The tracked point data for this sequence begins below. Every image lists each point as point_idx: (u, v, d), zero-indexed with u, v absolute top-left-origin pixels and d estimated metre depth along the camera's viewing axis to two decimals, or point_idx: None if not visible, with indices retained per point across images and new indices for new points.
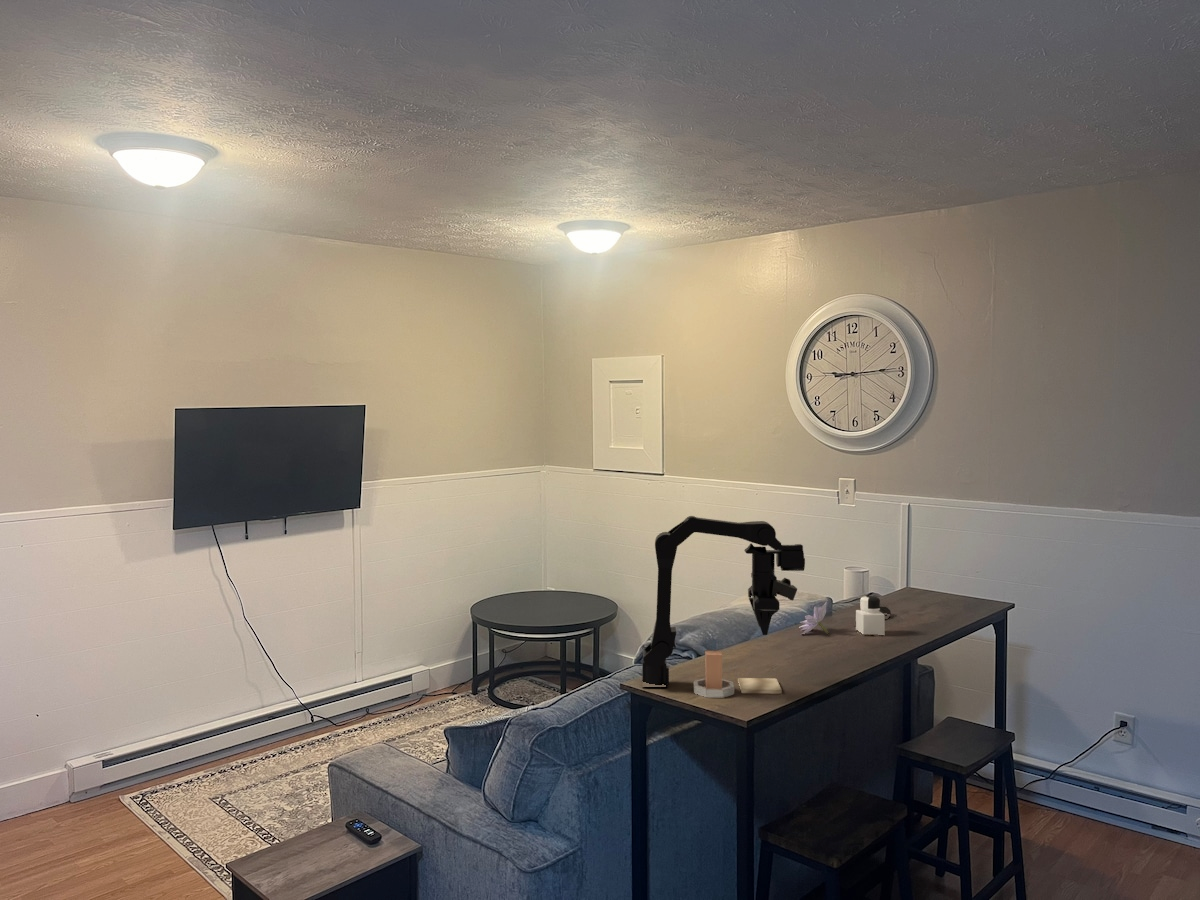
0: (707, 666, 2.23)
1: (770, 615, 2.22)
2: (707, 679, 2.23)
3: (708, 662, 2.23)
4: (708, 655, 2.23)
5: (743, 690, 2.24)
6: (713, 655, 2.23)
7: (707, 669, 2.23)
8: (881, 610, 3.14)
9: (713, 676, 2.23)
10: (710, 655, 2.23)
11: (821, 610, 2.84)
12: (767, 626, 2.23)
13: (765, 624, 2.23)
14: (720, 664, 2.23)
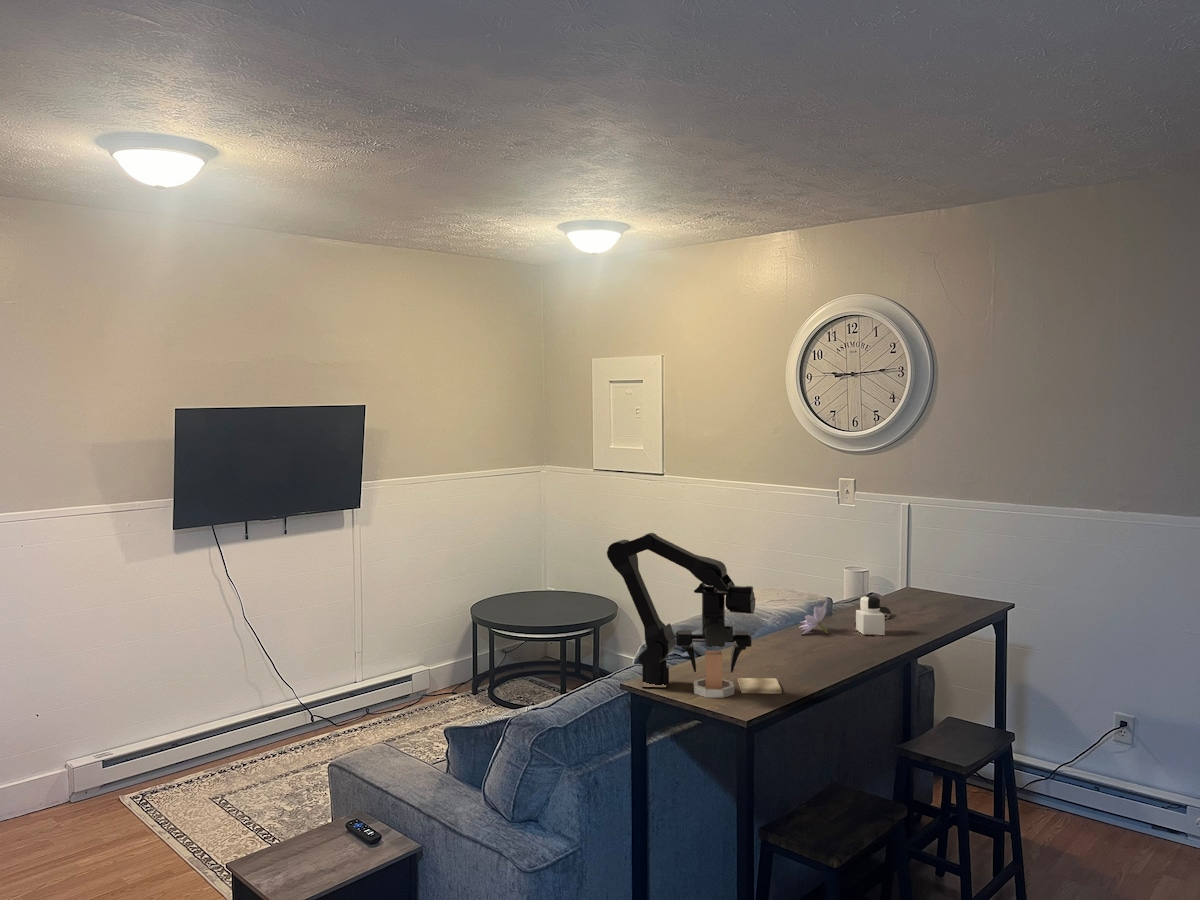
0: (707, 666, 2.23)
1: None
2: (707, 679, 2.23)
3: (708, 662, 2.23)
4: (708, 655, 2.23)
5: (743, 690, 2.24)
6: (713, 655, 2.23)
7: (707, 669, 2.23)
8: (881, 610, 3.14)
9: (713, 676, 2.23)
10: (710, 655, 2.23)
11: (821, 610, 2.84)
12: None
13: None
14: (720, 664, 2.23)
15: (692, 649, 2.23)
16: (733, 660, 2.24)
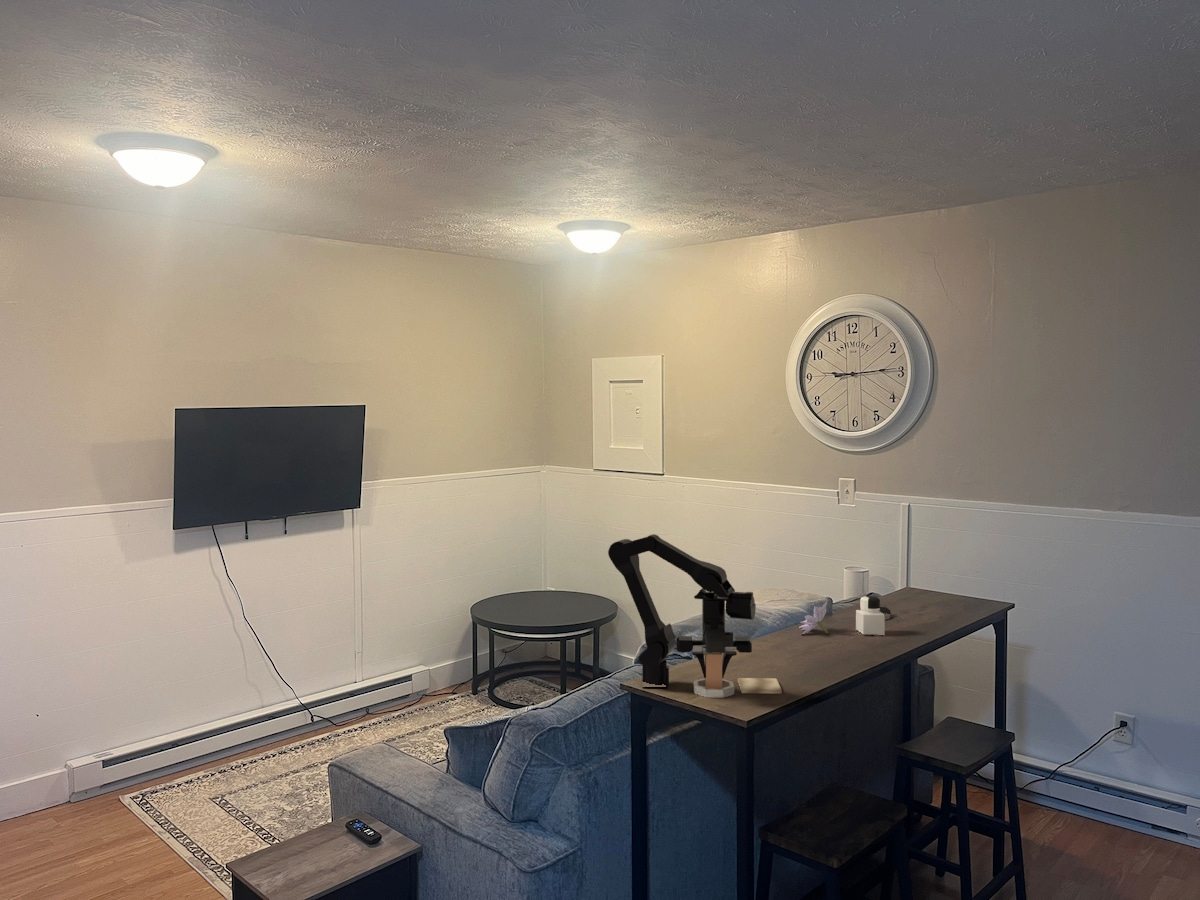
0: (707, 666, 2.23)
1: None
2: (707, 679, 2.23)
3: (708, 662, 2.23)
4: (708, 655, 2.23)
5: (743, 690, 2.24)
6: (713, 655, 2.23)
7: (707, 669, 2.23)
8: (881, 610, 3.14)
9: (713, 676, 2.23)
10: (710, 655, 2.23)
11: (821, 610, 2.84)
12: None
13: None
14: (720, 664, 2.23)
15: (702, 655, 2.23)
16: (724, 666, 2.24)
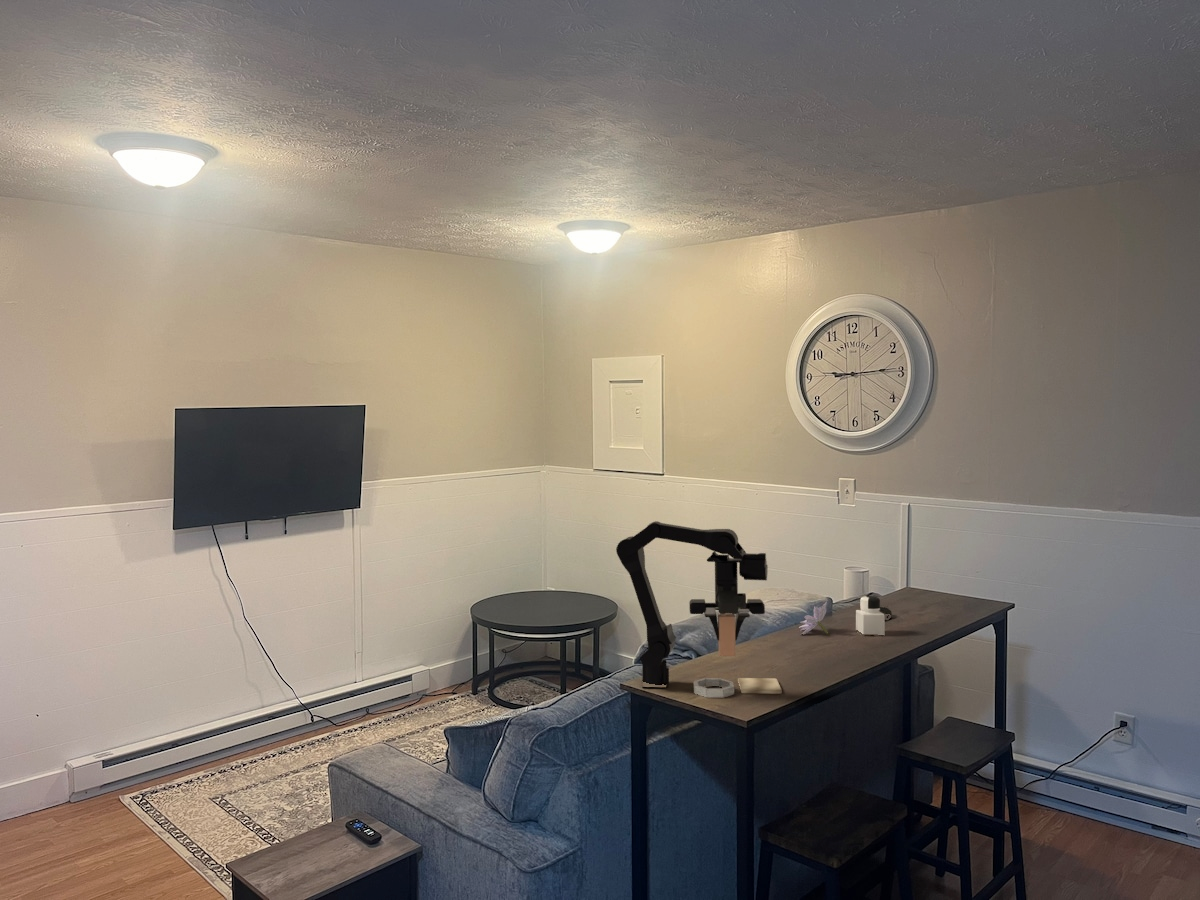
0: (720, 628, 2.24)
1: None
2: (720, 641, 2.24)
3: (721, 624, 2.24)
4: (721, 617, 2.24)
5: (743, 690, 2.24)
6: (726, 617, 2.24)
7: (720, 631, 2.24)
8: (882, 611, 3.13)
9: (726, 638, 2.24)
10: (723, 617, 2.24)
11: (821, 610, 2.84)
12: None
13: None
14: (733, 626, 2.23)
15: (715, 617, 2.23)
16: (737, 628, 2.24)
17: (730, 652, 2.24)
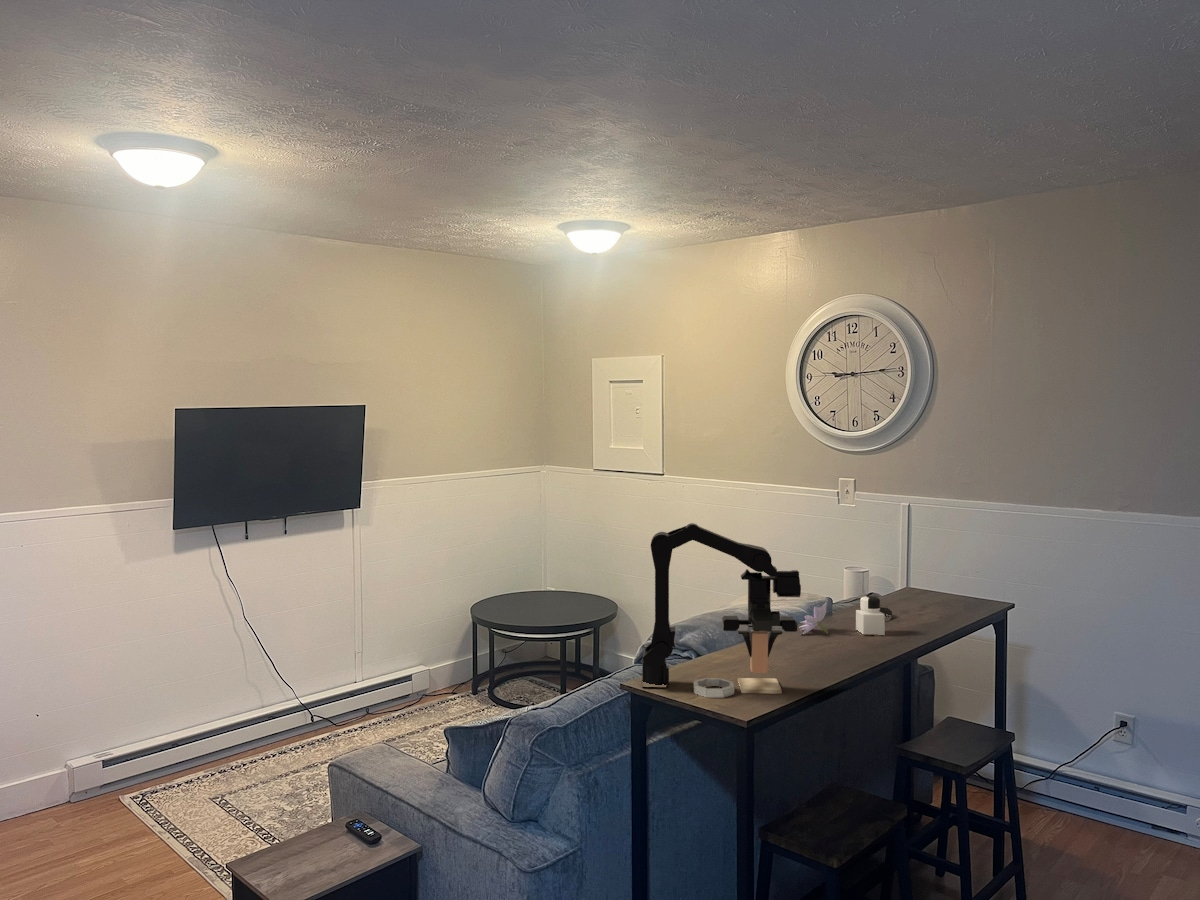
0: (753, 645, 2.26)
1: None
2: (753, 658, 2.26)
3: (754, 641, 2.26)
4: (754, 634, 2.26)
5: (743, 690, 2.24)
6: (759, 634, 2.26)
7: (753, 648, 2.26)
8: (882, 611, 3.13)
9: (759, 655, 2.26)
10: (756, 634, 2.26)
11: (821, 610, 2.84)
12: (747, 648, 2.28)
13: (746, 645, 2.28)
14: (766, 643, 2.26)
15: (748, 634, 2.26)
16: (769, 645, 2.27)
17: (762, 668, 2.26)
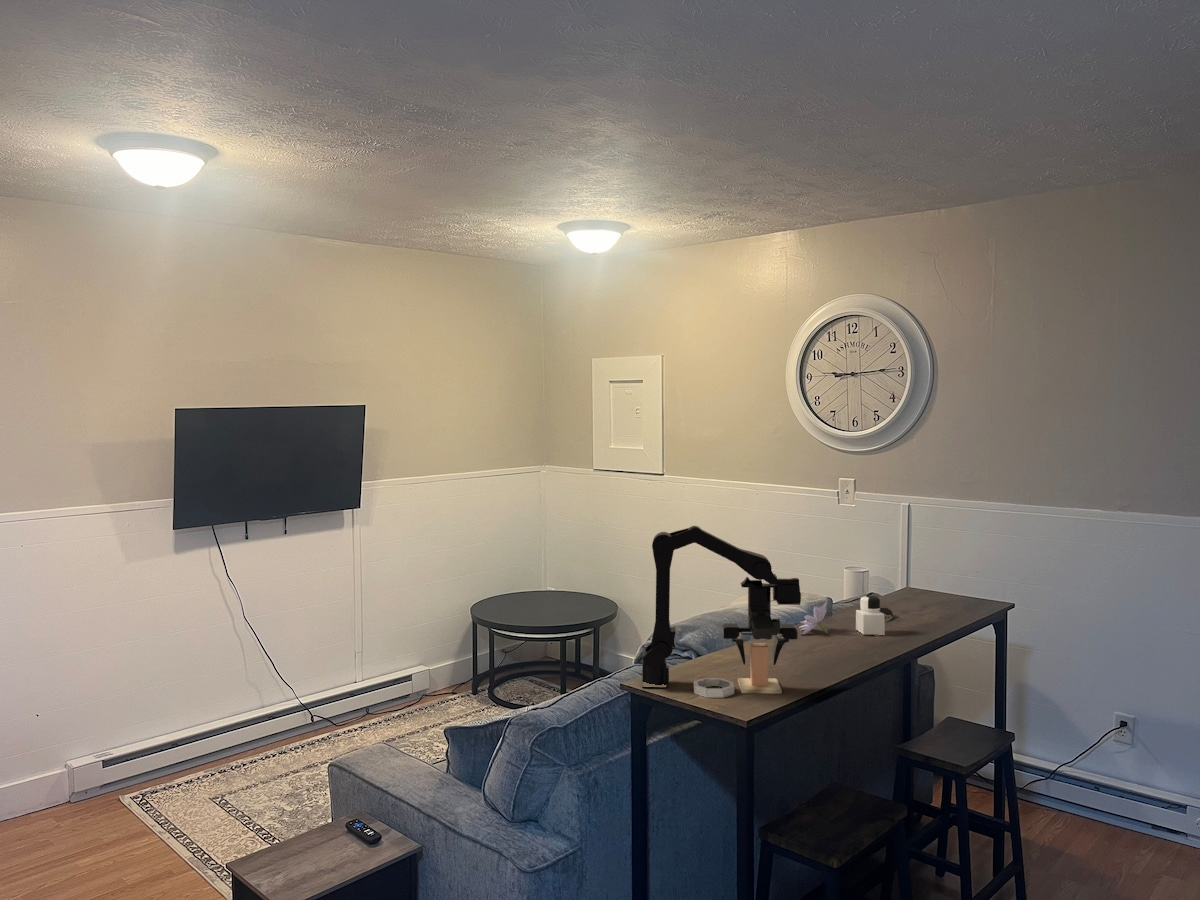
0: (753, 658, 2.26)
1: None
2: (753, 671, 2.26)
3: (754, 654, 2.26)
4: (754, 647, 2.26)
5: (743, 690, 2.24)
6: (759, 647, 2.26)
7: (753, 661, 2.26)
8: (883, 611, 3.12)
9: (759, 668, 2.26)
10: (756, 647, 2.26)
11: (821, 610, 2.84)
12: None
13: (740, 653, 2.29)
14: (766, 656, 2.26)
15: (742, 642, 2.26)
16: (776, 653, 2.27)
17: (762, 682, 2.26)
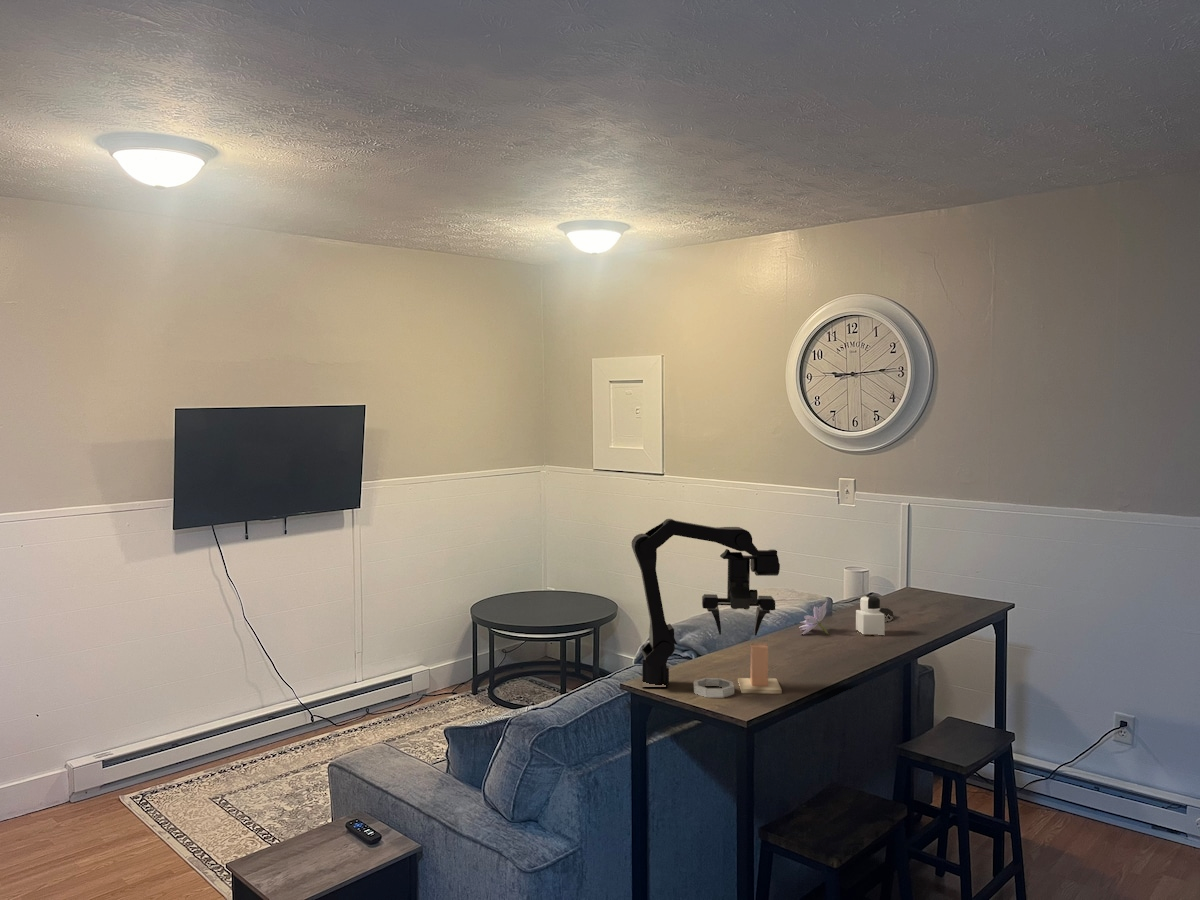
0: (753, 658, 2.26)
1: None
2: (753, 671, 2.26)
3: (754, 654, 2.26)
4: (754, 647, 2.26)
5: (743, 690, 2.24)
6: (759, 647, 2.26)
7: (753, 661, 2.26)
8: (883, 612, 3.12)
9: (759, 668, 2.26)
10: (756, 647, 2.26)
11: (821, 610, 2.84)
12: None
13: None
14: (766, 656, 2.26)
15: (717, 612, 2.30)
16: (757, 623, 2.31)
17: (762, 682, 2.26)
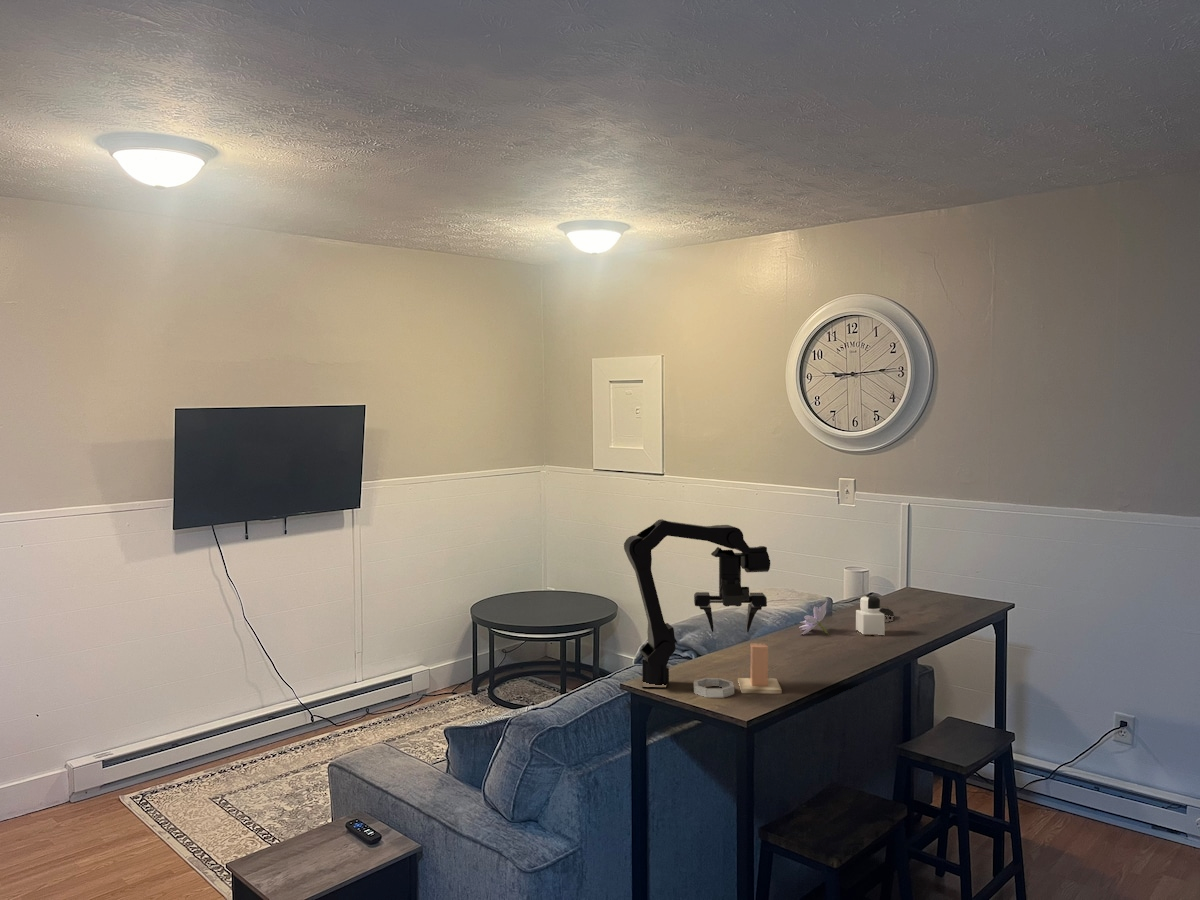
0: (753, 658, 2.26)
1: None
2: (753, 671, 2.26)
3: (754, 654, 2.26)
4: (754, 647, 2.26)
5: (743, 690, 2.24)
6: (759, 647, 2.26)
7: (753, 661, 2.26)
8: (884, 612, 3.11)
9: (759, 668, 2.26)
10: (756, 647, 2.26)
11: (820, 610, 2.84)
12: (709, 623, 2.34)
13: None
14: (766, 656, 2.26)
15: (710, 609, 2.32)
16: (749, 620, 2.33)
17: (762, 682, 2.26)
